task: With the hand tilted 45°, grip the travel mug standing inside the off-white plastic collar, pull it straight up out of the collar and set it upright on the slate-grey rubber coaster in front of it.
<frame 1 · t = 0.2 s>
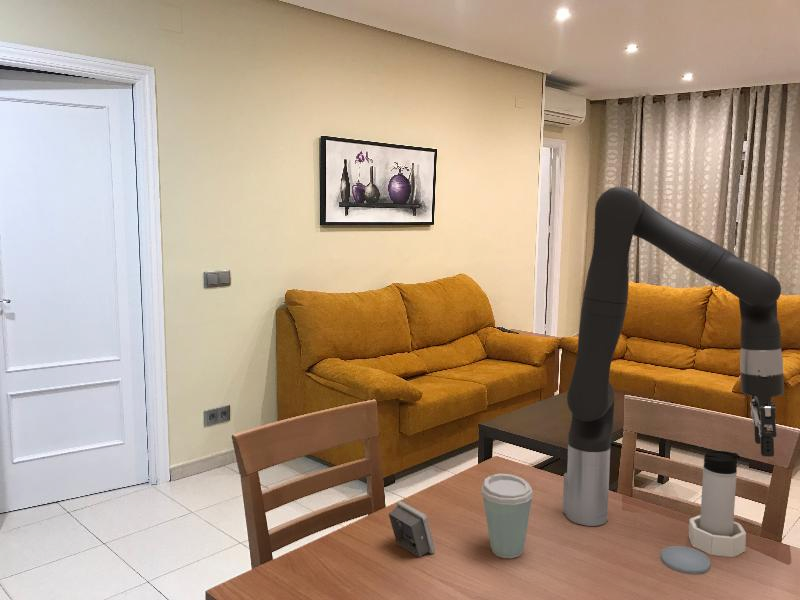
hand: (764, 449, 129), 22 cm above the table, tool pointing down, fingers open, 8 cm apart
coaster: (685, 561, 128), on the table
disposable coffee cup: (505, 552, 132), on the table
electrical switch: (412, 550, 134), on the table
travel mug: (716, 544, 135), resting in collar
collar: (716, 544, 135), on the table
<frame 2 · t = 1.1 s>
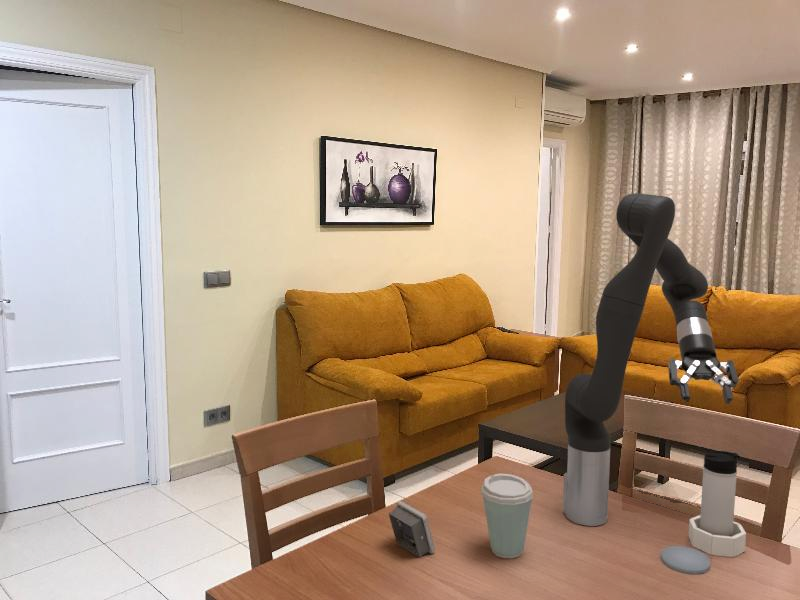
hand: (707, 401, 142), 28 cm above the table, tool tilted 45°, fingers open, 8 cm apart
nothing on the table moved.
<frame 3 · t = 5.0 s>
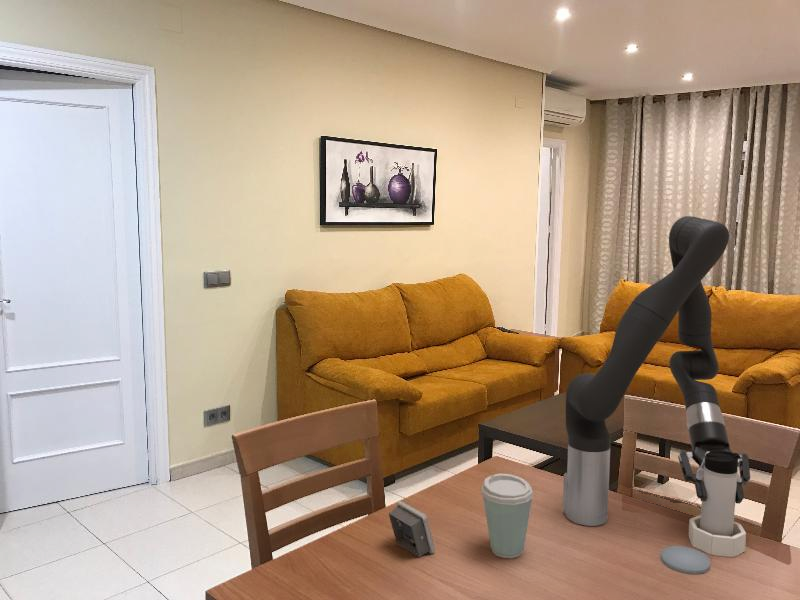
hand: (721, 500, 133), 10 cm above the table, tool tilted 45°, fingers closed on travel mug, 6 cm apart
travel mug: (715, 544, 135), resting in collar, touching gripper
everything else where it was.
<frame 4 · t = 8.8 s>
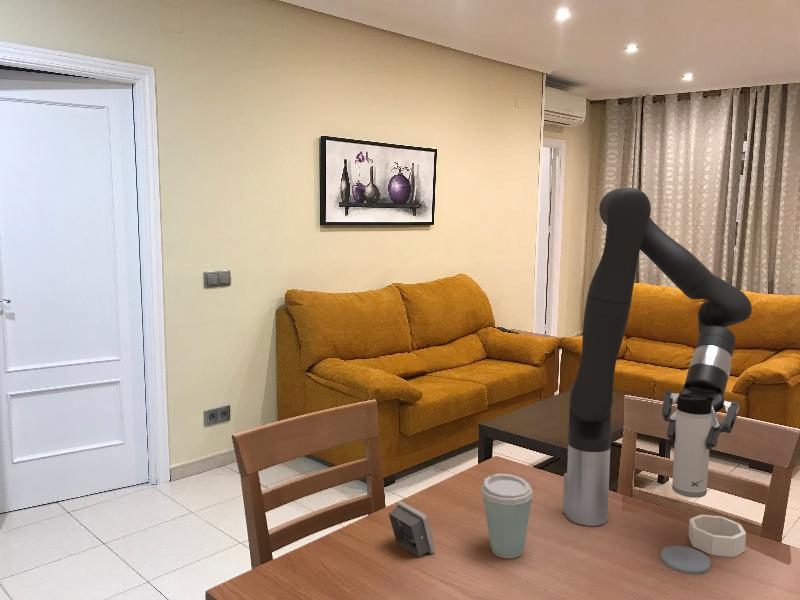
hand: (690, 443, 124), 25 cm above the table, tool tilted 45°, fingers closed on travel mug, 6 cm apart
travel mug: (689, 492, 127), point 15 cm above the table, touching gripper
everything else where it was.
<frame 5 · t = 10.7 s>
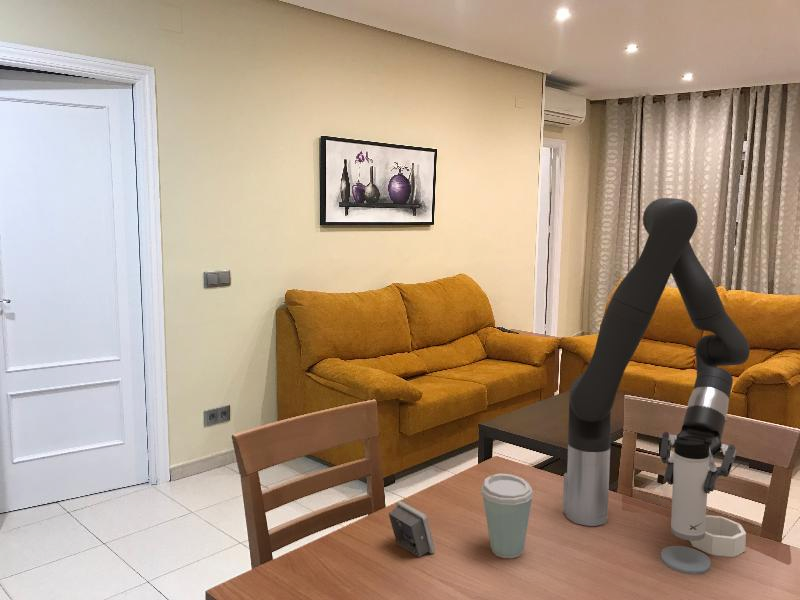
hand: (687, 487, 125), 16 cm above the table, tool tilted 45°, fingers closed on travel mug, 6 cm apart
travel mug: (688, 534, 128), point 6 cm above the table, touching gripper
everything else where it was.
when the fingers open (13 cm above the table, at t = 12.2 s): travel mug drops 1 cm, resting on coaster.
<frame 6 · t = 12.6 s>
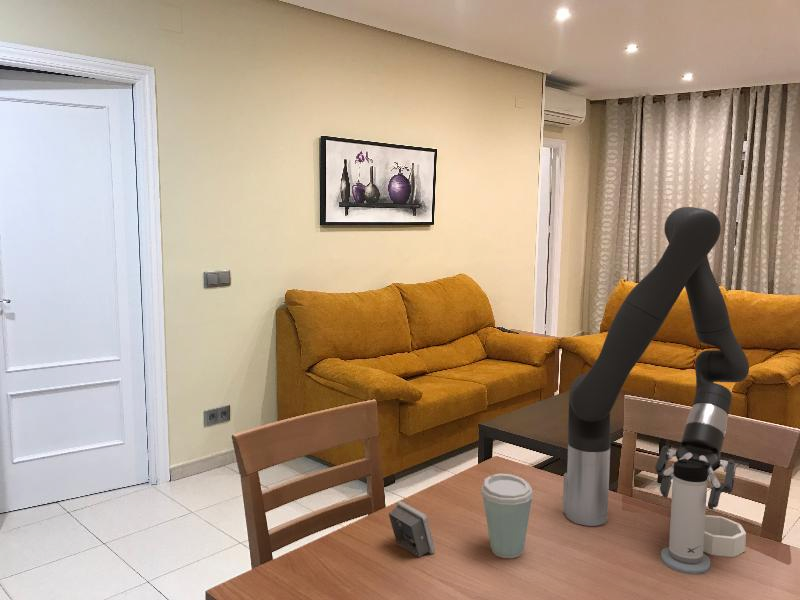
hand: (686, 501, 126), 13 cm above the table, tool tilted 45°, fingers open, 8 cm apart
travel mug: (686, 557, 128), point 1 cm above the table, touching coaster
everything else where it was.
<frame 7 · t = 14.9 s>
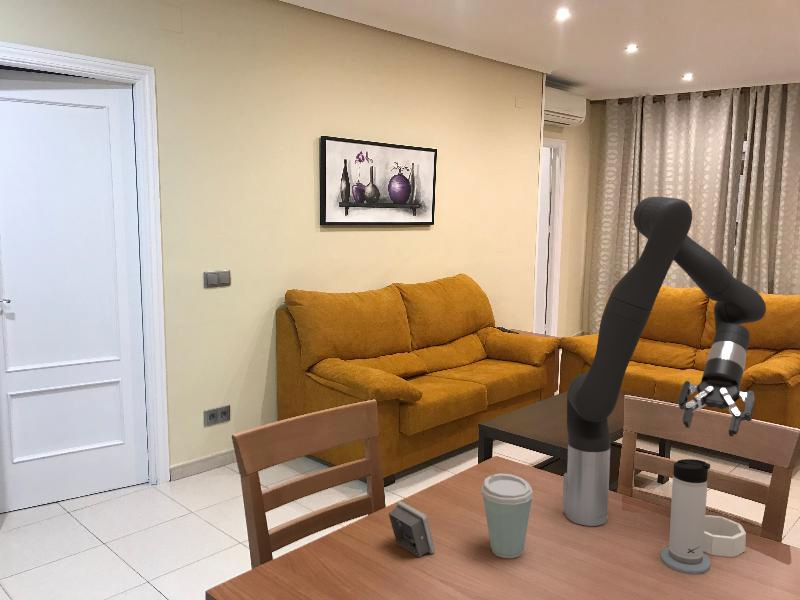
hand: (708, 430, 133), 25 cm above the table, tool tilted 45°, fingers open, 8 cm apart
nothing on the table moved.
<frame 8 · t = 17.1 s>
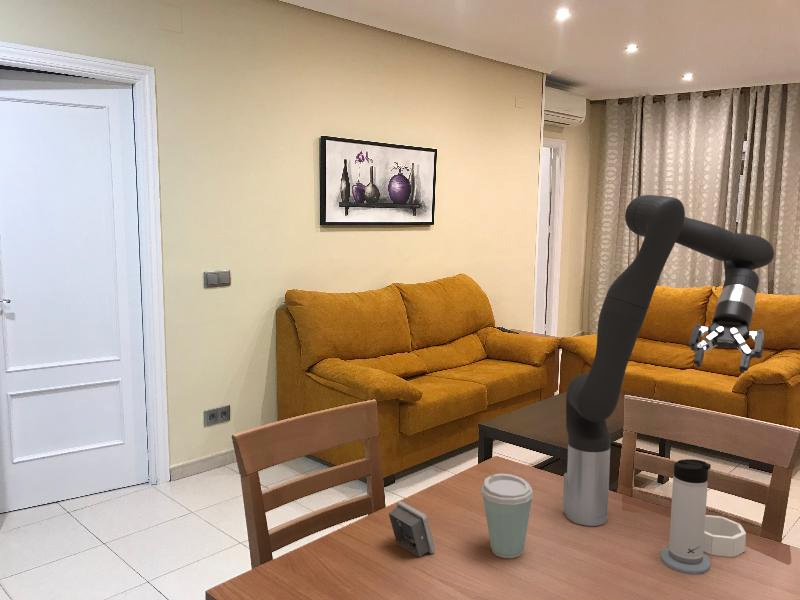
hand: (719, 367, 137), 37 cm above the table, tool tilted 45°, fingers open, 8 cm apart
nothing on the table moved.
at the end: travel mug 0.3 cm off-centre on the coaster, point 0.8 cm above the coaster's base; travel mug tilted 0°; the gripper is holding nothing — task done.
